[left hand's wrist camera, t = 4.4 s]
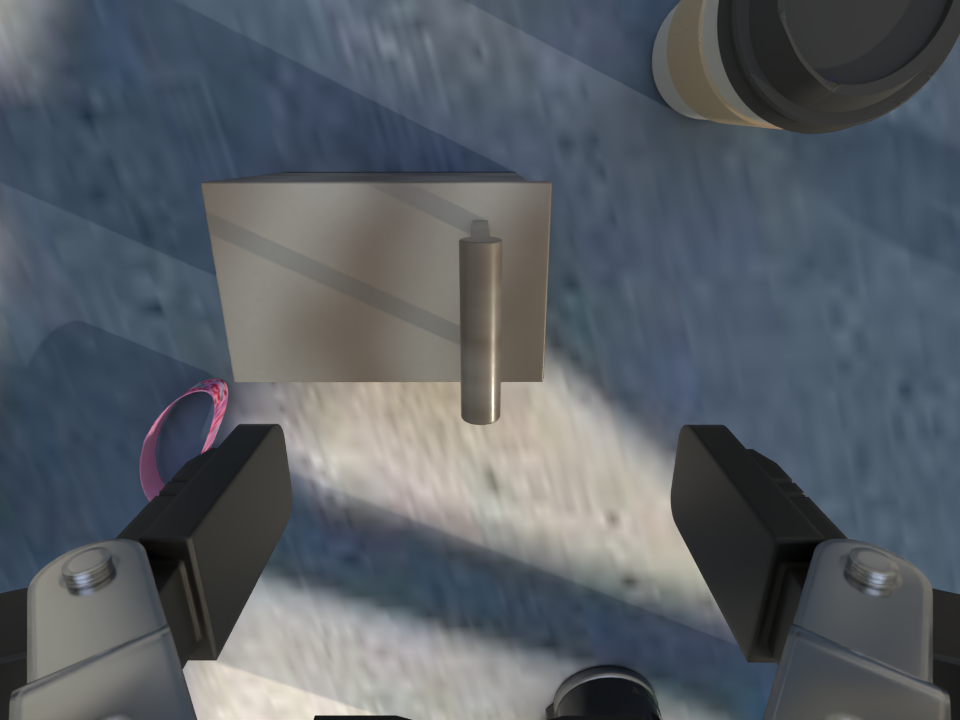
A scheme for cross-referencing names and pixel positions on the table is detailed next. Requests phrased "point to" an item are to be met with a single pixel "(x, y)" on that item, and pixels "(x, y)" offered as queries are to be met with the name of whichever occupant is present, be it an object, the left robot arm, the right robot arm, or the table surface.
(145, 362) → the table surface
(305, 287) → the lid
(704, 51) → the coffee cup
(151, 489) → the headband
